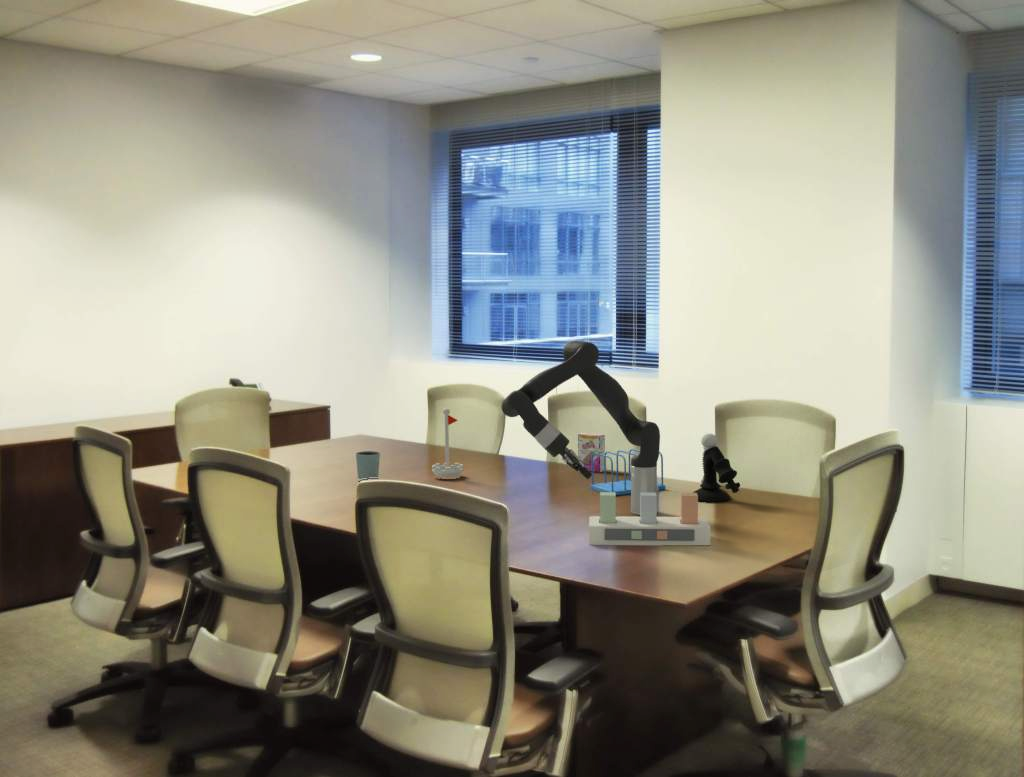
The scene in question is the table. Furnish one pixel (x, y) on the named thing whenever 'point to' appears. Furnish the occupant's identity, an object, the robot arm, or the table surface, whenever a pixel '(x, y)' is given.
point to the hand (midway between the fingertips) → (590, 476)
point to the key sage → (607, 507)
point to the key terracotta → (689, 508)
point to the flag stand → (447, 453)
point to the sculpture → (711, 465)
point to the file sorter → (618, 486)
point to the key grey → (648, 508)
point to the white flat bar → (648, 532)
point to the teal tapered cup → (367, 464)
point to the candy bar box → (591, 450)
